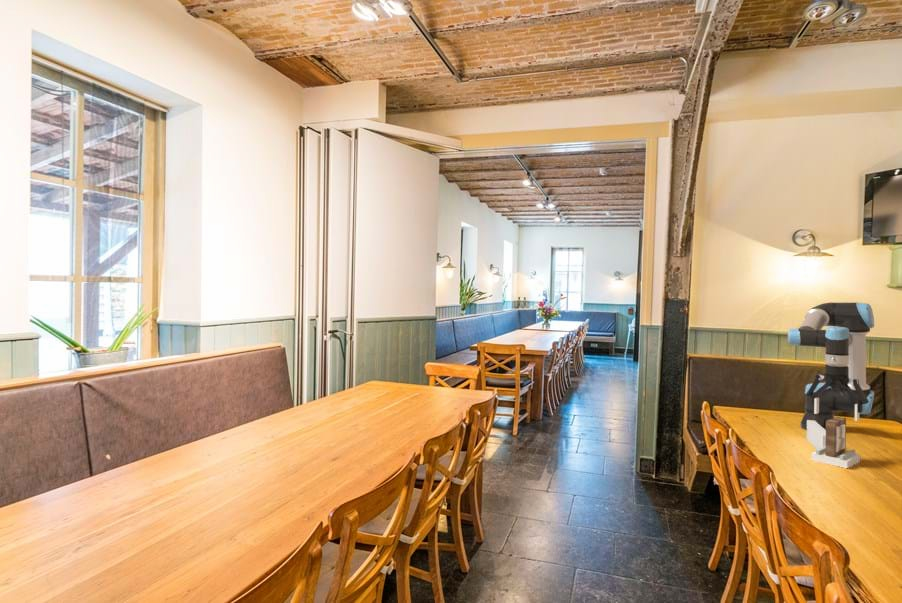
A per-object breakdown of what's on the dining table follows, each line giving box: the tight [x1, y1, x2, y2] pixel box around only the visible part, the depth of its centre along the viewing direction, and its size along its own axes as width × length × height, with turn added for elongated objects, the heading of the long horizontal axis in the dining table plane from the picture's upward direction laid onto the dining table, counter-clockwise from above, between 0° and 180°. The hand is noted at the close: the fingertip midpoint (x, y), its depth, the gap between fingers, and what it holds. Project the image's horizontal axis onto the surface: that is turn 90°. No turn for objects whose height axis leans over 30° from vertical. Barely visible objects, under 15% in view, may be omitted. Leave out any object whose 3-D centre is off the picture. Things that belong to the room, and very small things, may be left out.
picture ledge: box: [810, 446, 861, 469], centre depth 201 cm, size 14×12×4 cm
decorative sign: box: [806, 420, 826, 451], centre depth 221 cm, size 32×4×10 cm, turn 156°
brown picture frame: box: [825, 416, 847, 458], centre depth 201 cm, size 12×4×14 cm, turn 124°
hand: (836, 416), depth 201 cm, fingers open, 13 cm apart
